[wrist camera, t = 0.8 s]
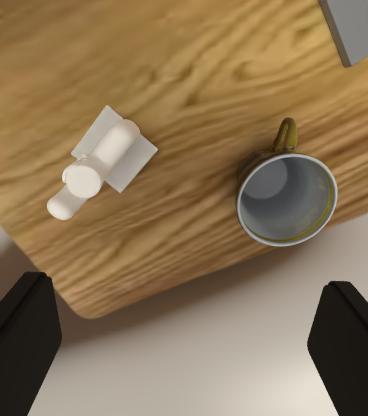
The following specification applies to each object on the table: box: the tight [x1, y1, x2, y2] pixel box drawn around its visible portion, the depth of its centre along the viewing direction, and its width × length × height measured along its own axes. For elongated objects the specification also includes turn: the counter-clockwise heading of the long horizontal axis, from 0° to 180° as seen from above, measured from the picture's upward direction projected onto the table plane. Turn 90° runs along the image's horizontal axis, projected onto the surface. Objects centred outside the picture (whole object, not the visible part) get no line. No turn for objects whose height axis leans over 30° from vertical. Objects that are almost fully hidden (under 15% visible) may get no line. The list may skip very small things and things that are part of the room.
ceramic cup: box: [236, 118, 337, 246], centre depth 32 cm, size 13×10×10 cm
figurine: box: [47, 105, 158, 220], centre depth 29 cm, size 7×9×15 cm
